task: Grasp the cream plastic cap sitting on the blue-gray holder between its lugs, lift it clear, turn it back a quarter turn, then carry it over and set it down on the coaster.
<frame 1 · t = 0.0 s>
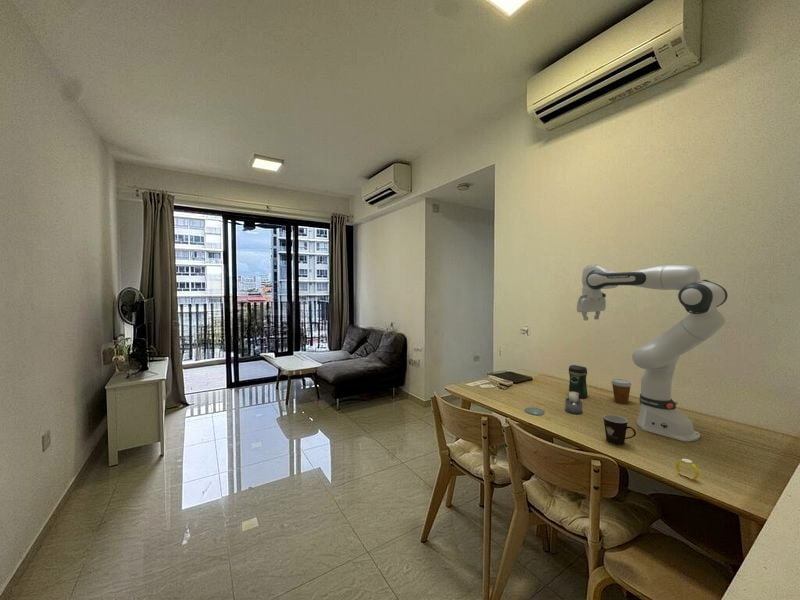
hand: (591, 319, 175), 48 cm above the table, fingers open, 8 cm apart
disposable coffee cup: (621, 402, 181), on the table
watch: (687, 477, 110), on the table
blue-gray holder: (573, 411, 169), on the table
coffee mug: (617, 443, 134), on the table
cap: (573, 402, 169), point 5 cm above the table, touching blue-gray holder
coffee jar: (577, 396, 192), on the table
coaster: (534, 411, 170), on the table
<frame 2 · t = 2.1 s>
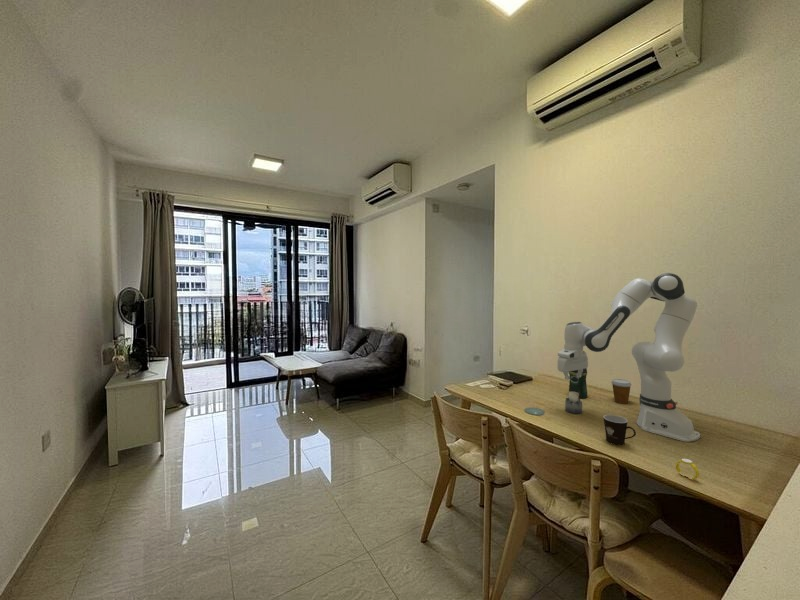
hand: (573, 378, 168), 18 cm above the table, fingers open, 8 cm apart
nothing on the table moved.
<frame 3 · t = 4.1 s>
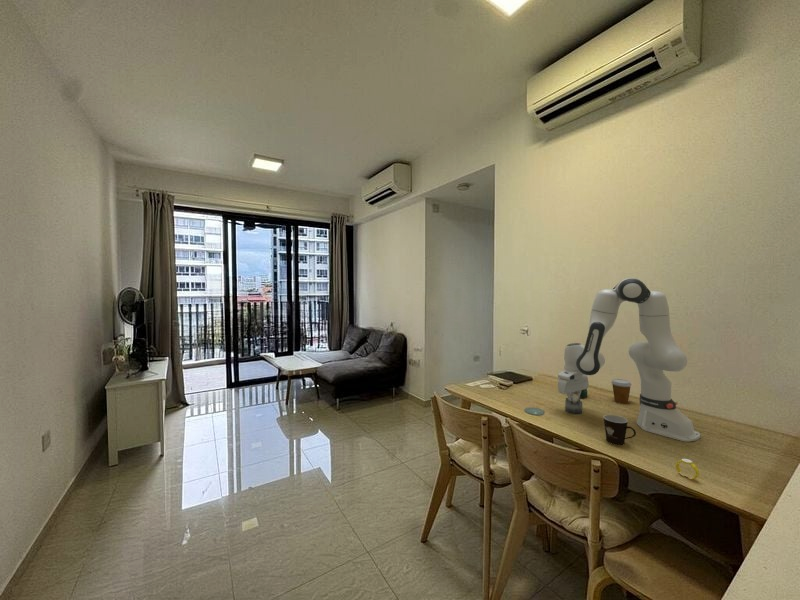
hand: (573, 399, 169), 7 cm above the table, fingers closed on cap, 4 cm apart
cap: (573, 402, 169), point 5 cm above the table, touching gripper, blue-gray holder
everything else where it was.
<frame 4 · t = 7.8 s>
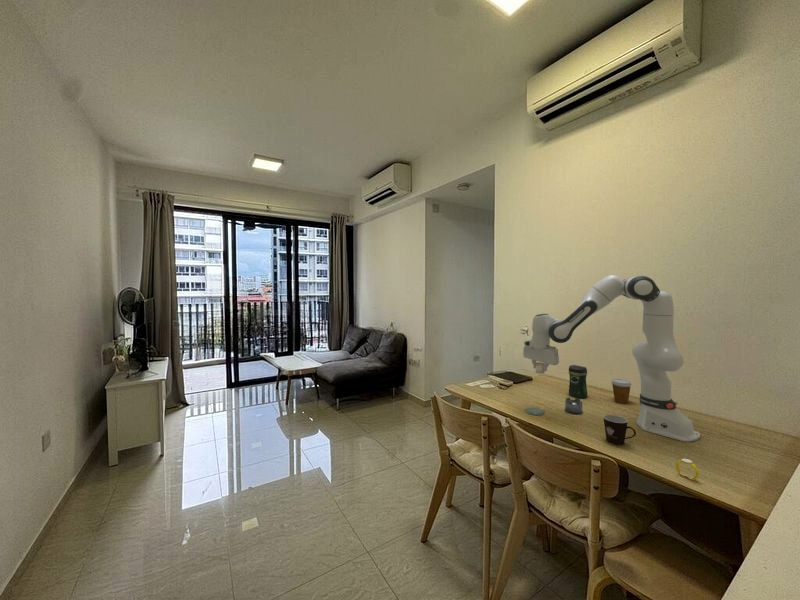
hand: (540, 369, 169), 23 cm above the table, fingers closed on cap, 4 cm apart
cap: (540, 372, 169), point 21 cm above the table, touching gripper
everything else where it was.
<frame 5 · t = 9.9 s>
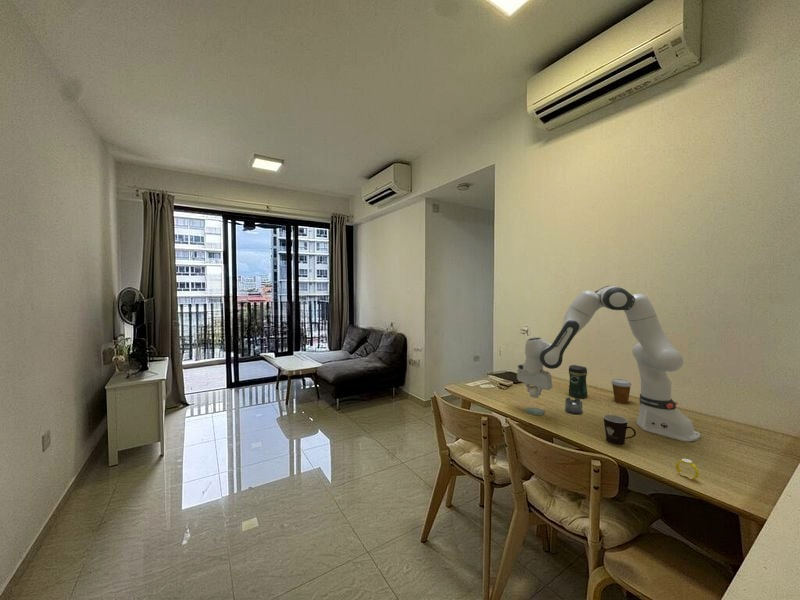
hand: (533, 393, 170), 10 cm above the table, fingers closed on cap, 4 cm apart
cap: (534, 396, 170), point 8 cm above the table, touching gripper
everything else where it was.
when the fingers open (3 cm above the table, at t = 11.8 s): cap drops 1 cm, resting on coaster.
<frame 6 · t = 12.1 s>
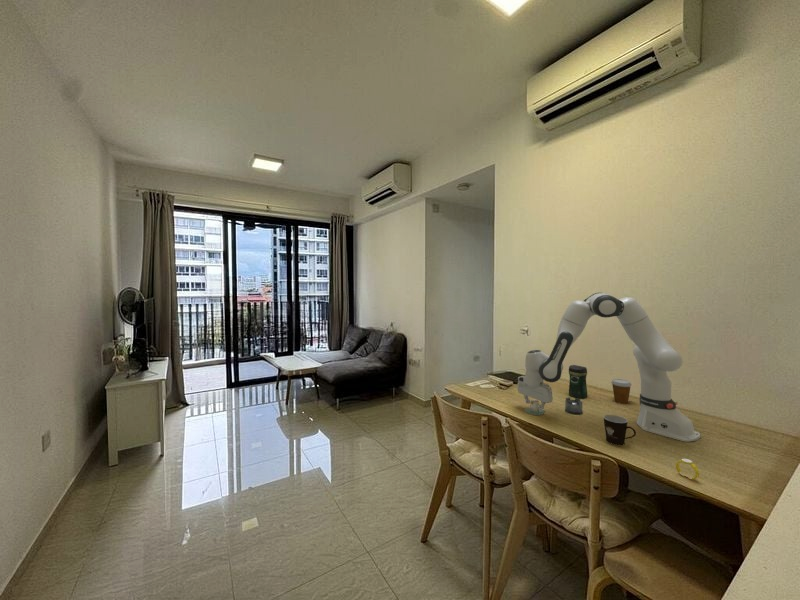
hand: (534, 405, 170), 3 cm above the table, fingers open, 8 cm apart
cap: (534, 410, 170), resting on coaster
everything else where it was.
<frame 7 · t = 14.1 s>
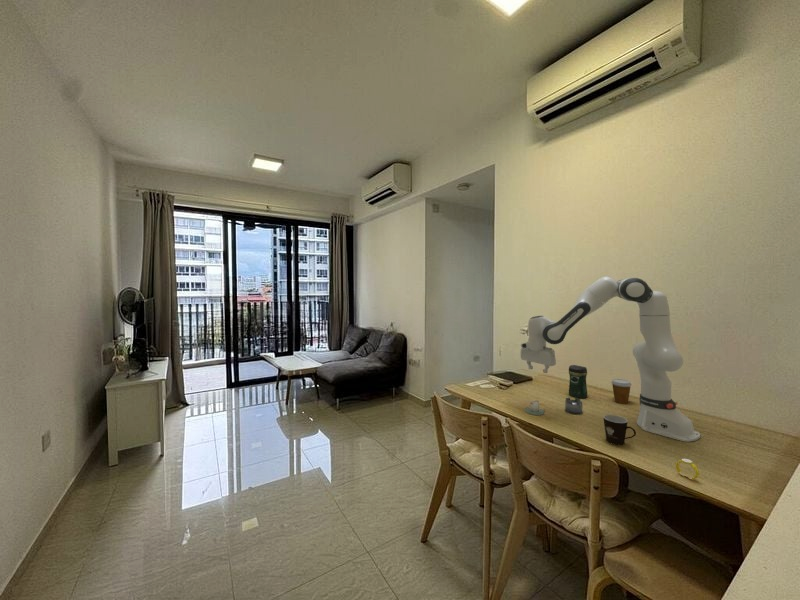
hand: (537, 370, 172), 21 cm above the table, fingers open, 8 cm apart
nothing on the table moved.
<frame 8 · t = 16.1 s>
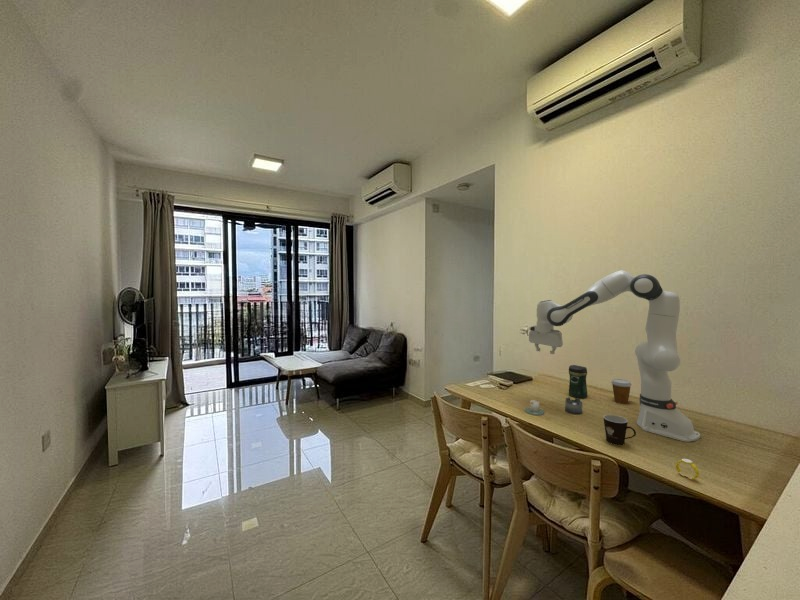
hand: (545, 352, 181), 29 cm above the table, fingers open, 8 cm apart
nothing on the table moved.
at the end: cap 0.1 cm from the coaster (horizontally); cap touching coaster; the gripper is holding nothing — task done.
